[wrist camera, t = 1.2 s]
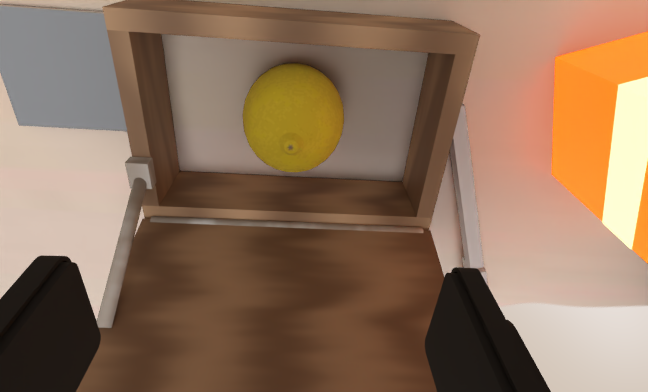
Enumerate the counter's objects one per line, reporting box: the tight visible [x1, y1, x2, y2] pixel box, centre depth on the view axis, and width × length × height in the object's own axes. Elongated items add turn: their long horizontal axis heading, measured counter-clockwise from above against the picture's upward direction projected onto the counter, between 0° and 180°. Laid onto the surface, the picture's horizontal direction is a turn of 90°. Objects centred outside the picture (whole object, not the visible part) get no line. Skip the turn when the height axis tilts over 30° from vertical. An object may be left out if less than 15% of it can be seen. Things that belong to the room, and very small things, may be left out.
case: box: [76, 0, 480, 392], centre depth 20 cm, size 18×15×17 cm
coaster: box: [0, 4, 127, 131], centre depth 24 cm, size 7×7×1 cm
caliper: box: [450, 104, 488, 286], centre depth 28 cm, size 20×1×6 cm, turn 14°
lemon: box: [243, 63, 344, 172], centre depth 22 cm, size 6×6×8 cm
